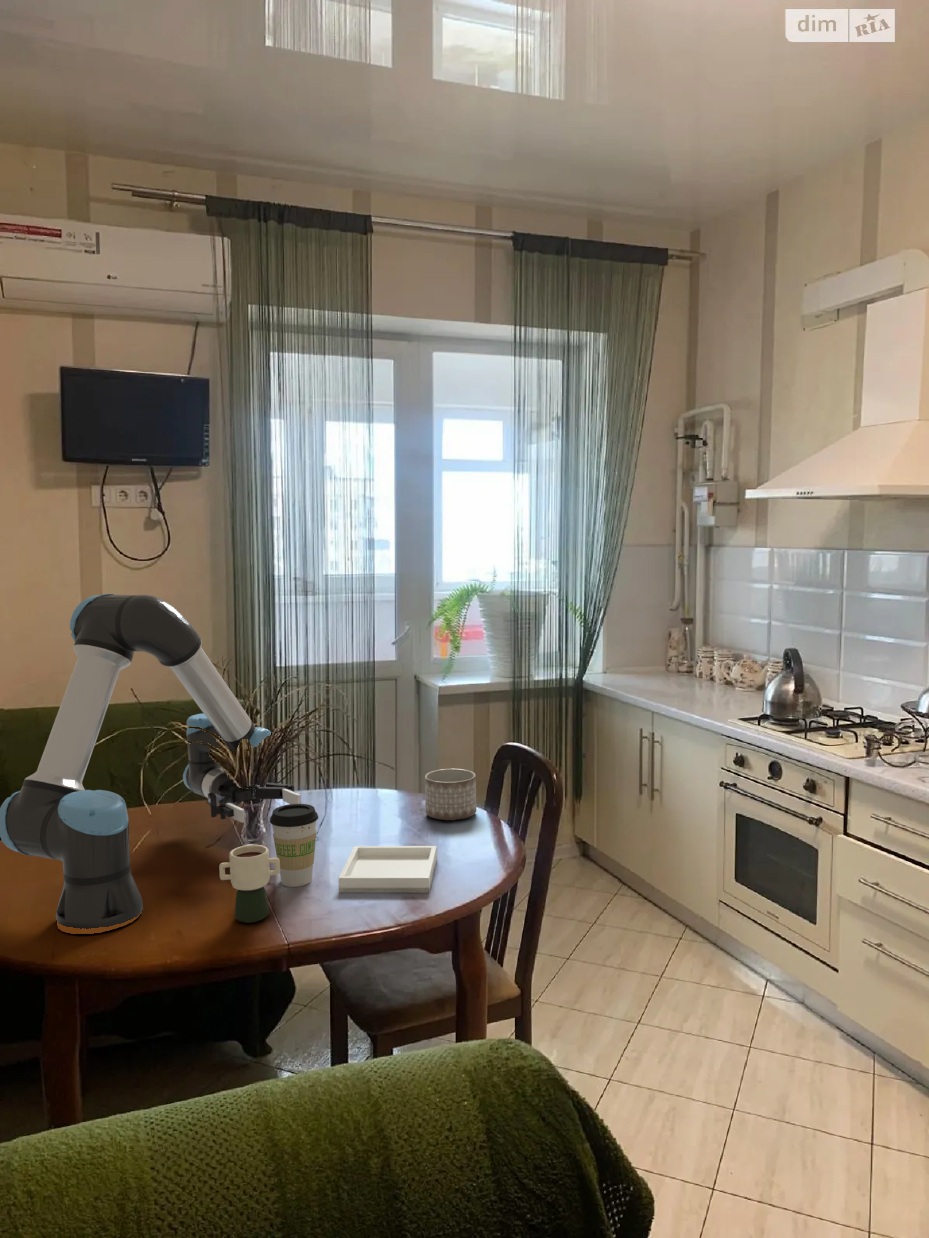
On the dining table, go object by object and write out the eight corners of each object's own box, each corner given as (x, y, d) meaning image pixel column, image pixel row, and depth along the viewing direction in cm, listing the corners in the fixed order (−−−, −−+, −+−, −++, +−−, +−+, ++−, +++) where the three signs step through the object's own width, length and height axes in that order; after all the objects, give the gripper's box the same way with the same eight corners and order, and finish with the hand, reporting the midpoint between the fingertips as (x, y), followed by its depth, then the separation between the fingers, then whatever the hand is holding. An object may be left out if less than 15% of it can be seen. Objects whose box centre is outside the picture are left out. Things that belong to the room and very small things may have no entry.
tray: (429, 892, 177) (428, 877, 177) (339, 892, 178) (338, 877, 178) (437, 859, 195) (436, 845, 195) (355, 859, 196) (354, 846, 196)
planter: (415, 816, 225) (414, 775, 224) (452, 804, 234) (451, 765, 233) (449, 827, 216) (448, 785, 215) (486, 815, 225) (486, 774, 224)
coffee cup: (283, 894, 178) (280, 820, 177) (265, 878, 186) (261, 808, 185) (328, 882, 183) (325, 811, 182) (309, 868, 192) (306, 799, 190)
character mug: (281, 907, 172) (278, 841, 170) (282, 923, 165) (279, 854, 164) (223, 913, 170) (219, 847, 168) (220, 929, 163) (217, 860, 161)
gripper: (273, 791, 216) (322, 811, 200) (174, 816, 199) (218, 840, 184) (272, 761, 215) (320, 778, 199) (172, 783, 198) (216, 805, 183)
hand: (272, 808), depth 191 cm, fingers open, 13 cm apart
